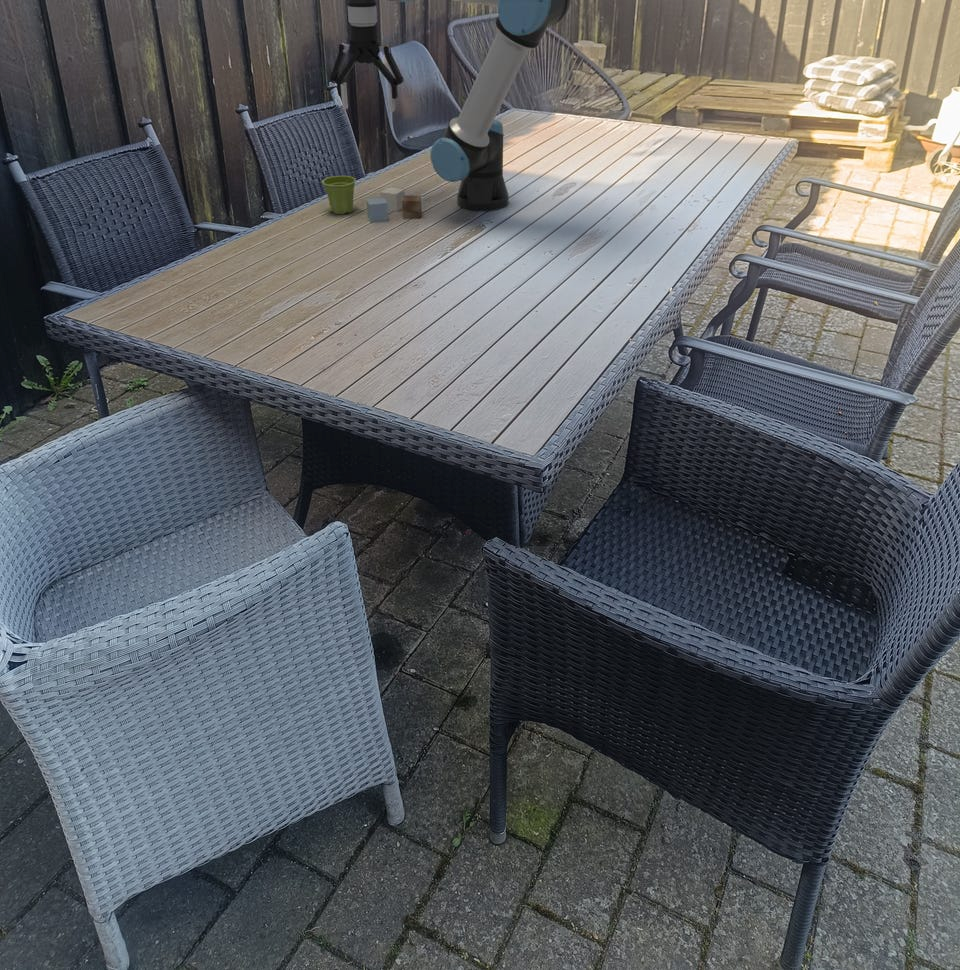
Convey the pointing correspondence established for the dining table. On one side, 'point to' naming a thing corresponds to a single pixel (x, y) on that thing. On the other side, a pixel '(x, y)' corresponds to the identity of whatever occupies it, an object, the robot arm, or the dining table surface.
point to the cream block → (393, 198)
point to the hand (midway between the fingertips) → (368, 110)
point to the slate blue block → (377, 210)
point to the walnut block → (411, 206)
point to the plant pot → (340, 193)
